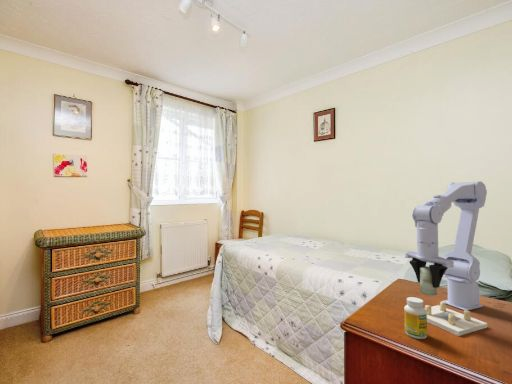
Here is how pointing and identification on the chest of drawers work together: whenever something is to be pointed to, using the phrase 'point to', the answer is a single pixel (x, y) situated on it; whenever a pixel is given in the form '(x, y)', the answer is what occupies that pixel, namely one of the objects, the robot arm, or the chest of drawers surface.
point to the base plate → (453, 320)
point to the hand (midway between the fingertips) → (428, 284)
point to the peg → (426, 281)
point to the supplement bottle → (415, 318)
